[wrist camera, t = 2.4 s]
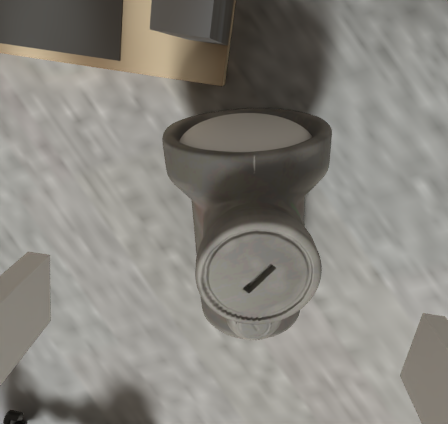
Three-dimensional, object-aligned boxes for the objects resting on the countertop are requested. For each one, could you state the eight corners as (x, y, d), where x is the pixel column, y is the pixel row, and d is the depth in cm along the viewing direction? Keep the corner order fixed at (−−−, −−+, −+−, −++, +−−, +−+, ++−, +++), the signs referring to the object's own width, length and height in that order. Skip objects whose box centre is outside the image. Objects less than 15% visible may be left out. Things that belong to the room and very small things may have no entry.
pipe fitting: (170, 102, 23) (137, 166, 14) (313, 97, 23) (373, 158, 14) (186, 276, 29) (169, 404, 20) (302, 273, 29) (339, 400, 19)
